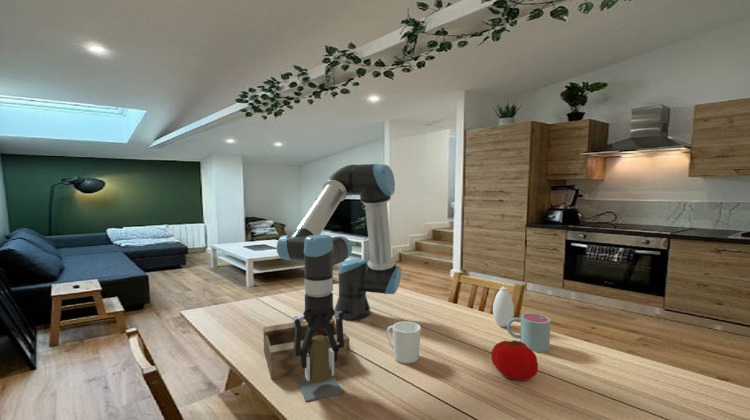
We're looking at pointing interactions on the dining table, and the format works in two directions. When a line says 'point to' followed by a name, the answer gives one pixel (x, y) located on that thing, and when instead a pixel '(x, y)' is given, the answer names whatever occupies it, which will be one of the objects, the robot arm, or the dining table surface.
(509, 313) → the sauce bottle
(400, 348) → the mug
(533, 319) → the mug
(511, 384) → the dining table surface
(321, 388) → the grey pad
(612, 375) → the dining table surface
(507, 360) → the tomato
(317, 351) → the cork
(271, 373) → the walnut box
